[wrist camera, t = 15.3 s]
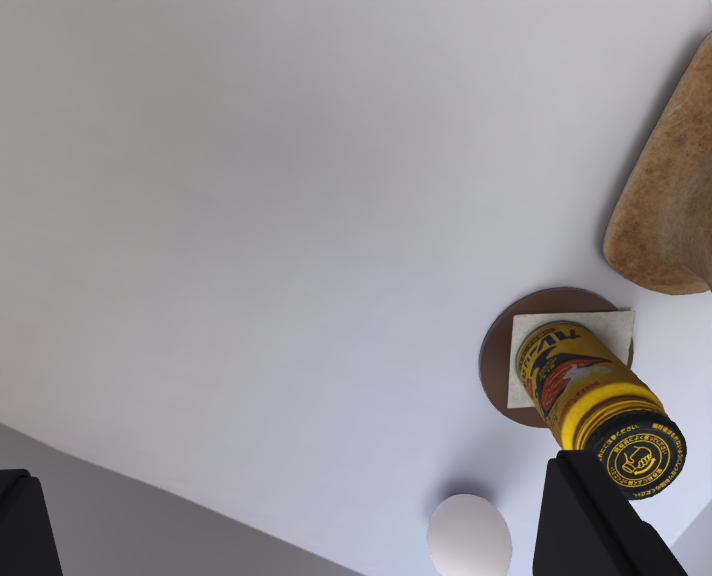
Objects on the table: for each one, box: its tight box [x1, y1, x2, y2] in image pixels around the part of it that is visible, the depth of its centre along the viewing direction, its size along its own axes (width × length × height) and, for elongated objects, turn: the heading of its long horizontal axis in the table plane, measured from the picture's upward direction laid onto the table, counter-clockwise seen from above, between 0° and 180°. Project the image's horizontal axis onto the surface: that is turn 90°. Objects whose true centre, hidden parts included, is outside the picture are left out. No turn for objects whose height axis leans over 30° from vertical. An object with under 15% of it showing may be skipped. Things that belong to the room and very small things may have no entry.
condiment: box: [507, 311, 687, 500], centre depth 36 cm, size 7×8×12 cm
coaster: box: [479, 287, 633, 428], centre depth 42 cm, size 11×11×1 cm
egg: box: [427, 494, 512, 576], centre depth 43 cm, size 6×6×8 cm
